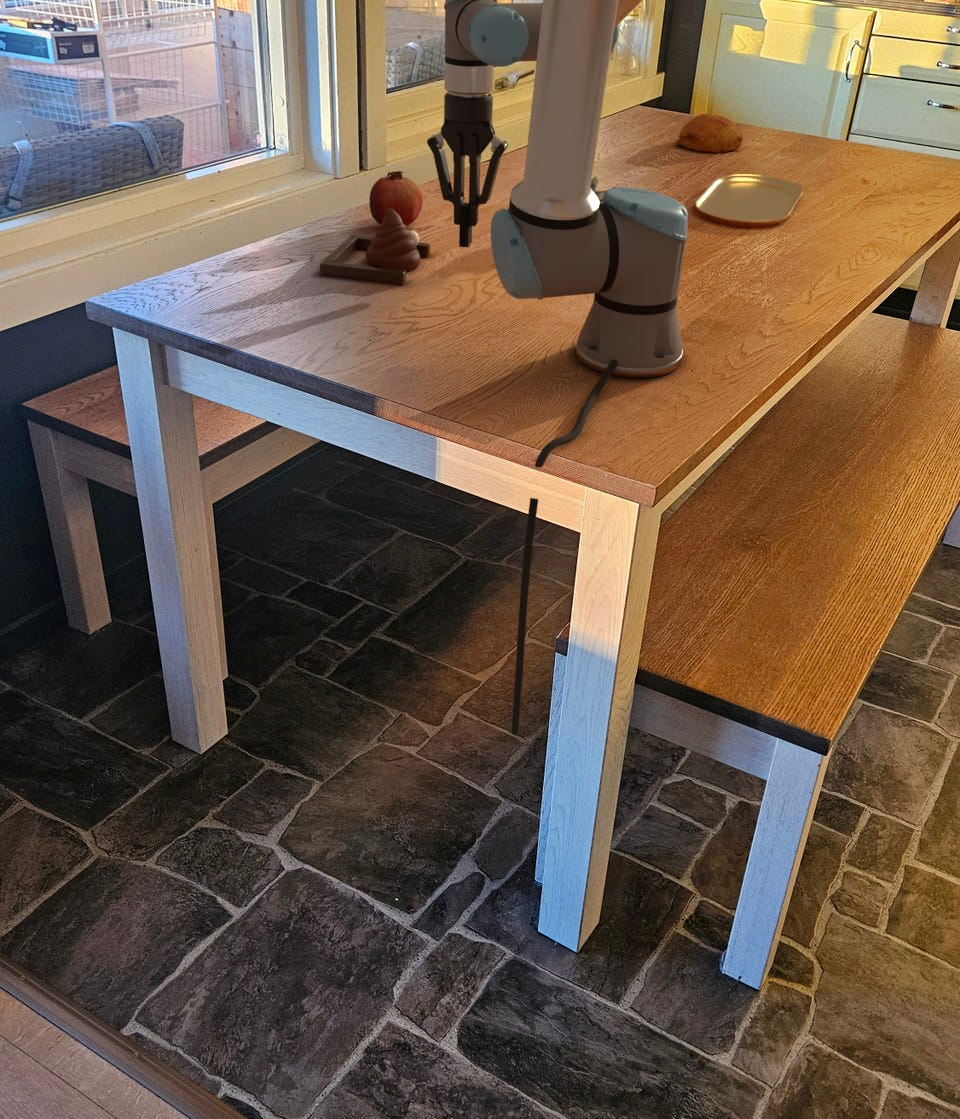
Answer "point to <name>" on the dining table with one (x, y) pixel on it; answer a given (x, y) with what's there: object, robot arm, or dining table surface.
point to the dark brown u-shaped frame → (338, 269)
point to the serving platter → (749, 200)
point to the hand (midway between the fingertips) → (465, 244)
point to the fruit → (395, 198)
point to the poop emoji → (393, 245)
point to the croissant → (710, 134)
